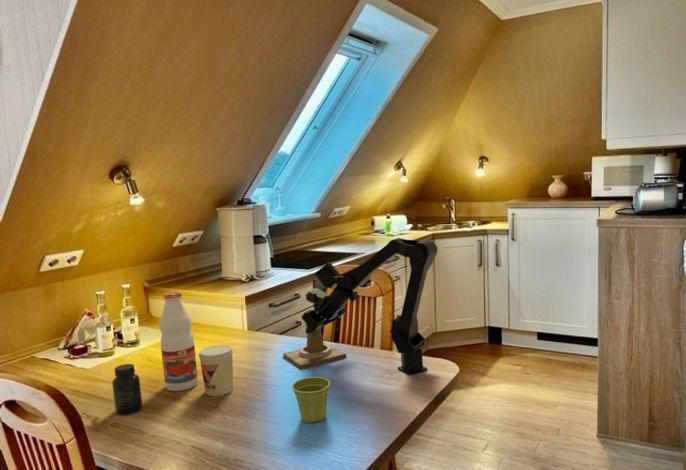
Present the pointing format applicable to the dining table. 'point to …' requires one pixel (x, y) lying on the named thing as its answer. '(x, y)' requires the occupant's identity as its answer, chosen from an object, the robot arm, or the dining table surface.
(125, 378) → the supplement bottle
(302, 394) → the plant pot
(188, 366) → the fruit juice
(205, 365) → the white canister
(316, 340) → the olive brown pestle
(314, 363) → the ring board
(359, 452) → the dining table surface
